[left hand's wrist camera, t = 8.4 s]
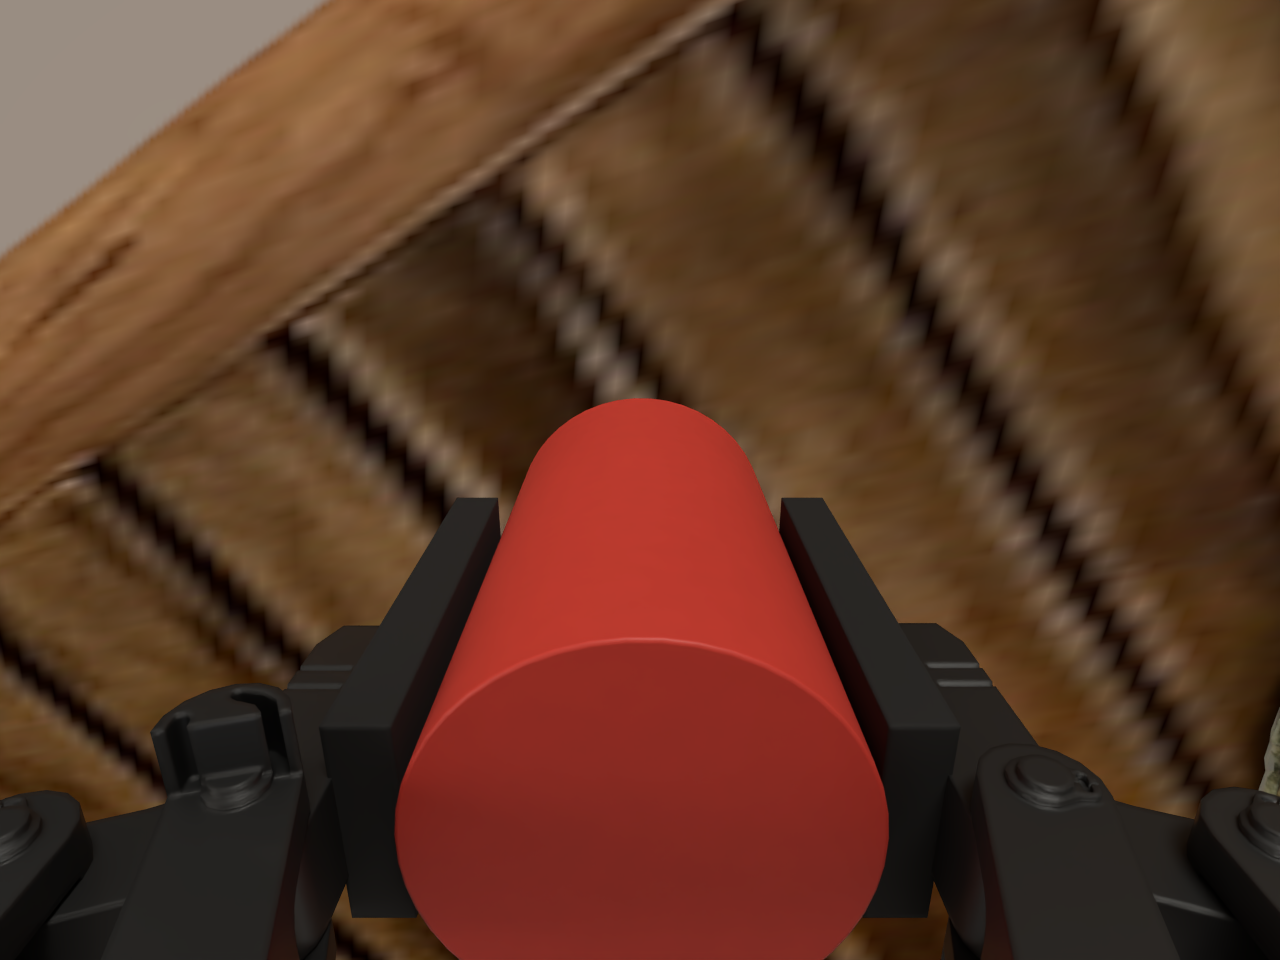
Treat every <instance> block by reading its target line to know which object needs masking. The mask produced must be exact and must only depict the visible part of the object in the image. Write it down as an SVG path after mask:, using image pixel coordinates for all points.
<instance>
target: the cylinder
mask: <svg viewBox="0 0 1280 960" xmlns="http://www.w3.org/2000/svg"><path fill="white" fill-rule="evenodd" d="M394 835H395V843H396V851H397V859H398V864H399V867H400V870H401V874H402V877H403V880H404V884H405V887H406V889H407V891H408V893H409V895H410V897H411V899H412V901H413V903H414V905H415V907H416V909H417V911H418V912H419V914H420V915H421V917H422V918H423V920H424V921H425V923H426V924H427V926H428V927H429V929H430V930H431V931H432V932H433V933H434V934H435V936H436V937H437V938H438V939H439V940H440V941H441V942H442V943H443V944H444V946H445V947H446V948H447V949H448V950H449V951H450V952H452V953H453V954H454V955H455V956H456V957H457V958H458V959H460V960H824V959H825V958H826V957H827V956H828V955H830V954H831V953H832V952H833V951H834V950H835V949H836V948H837V947H838V946H839V945H840V944H841V942H842V941H843V940H844V939H845V938H846V937H847V936H848V935H849V934H850V933H851V931H852V930H853V929H854V927H855V926H856V924H857V923H858V922H859V920H860V919H861V917H862V916H863V914H864V913H865V911H866V909H867V908H868V906H869V904H870V902H871V900H872V898H873V896H874V894H875V892H876V890H877V887H878V884H879V881H880V878H881V875H882V872H883V869H884V866H885V860H886V853H887V847H888V840H889V813H888V808H887V802H886V797H885V791H884V787H883V784H882V781H881V779H880V776H879V773H878V770H877V768H876V765H875V762H874V760H873V757H872V755H871V753H870V750H869V748H868V745H867V743H866V740H865V738H864V736H863V733H862V731H861V728H860V726H859V724H858V721H857V719H856V716H855V714H854V712H853V709H852V707H851V704H850V702H849V700H848V697H847V695H846V692H845V690H844V687H843V685H842V683H841V680H840V678H839V675H838V673H837V671H836V668H835V666H834V663H833V661H832V659H831V656H830V654H829V651H828V649H827V646H826V644H825V642H824V639H823V637H822V634H821V632H820V630H819V627H818V625H817V622H816V620H815V618H814V615H813V613H812V610H811V608H810V606H809V603H808V601H807V598H806V596H805V593H804V591H803V589H802V586H801V584H800V581H799V579H798V577H797V574H796V572H795V569H794V567H793V565H792V562H791V560H790V557H789V555H788V552H787V550H786V548H785V545H784V543H783V540H782V538H781V536H780V533H779V531H778V528H777V526H776V524H775V521H774V519H773V516H772V514H771V511H770V509H769V507H768V504H767V502H766V499H765V497H764V495H763V492H762V490H761V487H760V485H759V483H758V480H757V478H756V475H755V473H754V471H753V468H752V466H751V464H750V462H749V460H748V458H747V457H746V455H745V453H744V452H743V450H742V449H741V448H740V446H739V445H738V444H737V442H736V441H735V440H734V439H733V438H732V437H731V436H730V435H729V434H728V433H727V432H726V431H725V430H724V429H723V428H722V427H721V426H719V425H718V424H717V423H715V422H714V421H713V420H712V419H710V418H708V417H706V416H705V415H703V414H701V413H700V412H698V411H695V410H693V409H691V408H688V407H686V406H683V405H680V404H676V403H673V402H669V401H664V400H657V399H635V398H634V399H625V400H617V401H613V402H609V403H605V404H601V405H599V406H596V407H594V408H591V409H589V410H586V411H584V412H582V413H581V414H579V415H577V416H575V417H573V418H572V419H570V420H569V421H568V422H566V423H565V424H564V425H562V426H561V427H560V428H559V429H557V430H556V431H555V432H554V433H553V434H552V435H551V436H550V437H549V438H548V439H547V441H546V442H545V443H544V445H543V446H542V447H541V448H540V450H539V451H538V453H537V455H536V456H535V458H534V460H533V462H532V463H531V465H530V468H529V470H528V473H527V475H526V478H525V480H524V482H523V485H522V487H521V490H520V492H519V495H518V497H517V500H516V502H515V505H514V507H513V509H512V512H511V514H510V517H509V519H508V522H507V524H506V527H505V529H504V531H503V534H502V536H501V539H500V541H499V544H498V546H497V549H496V551H495V554H494V556H493V558H492V561H491V563H490V566H489V568H488V571H487V573H486V576H485V578H484V580H483V583H482V585H481V588H480V590H479V593H478V595H477V598H476V600H475V603H474V605H473V607H472V610H471V612H470V615H469V617H468V620H467V622H466V625H465V627H464V629H463V632H462V634H461V637H460V639H459V642H458V644H457V647H456V649H455V651H454V654H453V656H452V659H451V661H450V664H449V666H448V669H447V671H446V674H445V676H444V678H443V681H442V683H441V686H440V688H439V691H438V693H437V696H436V698H435V700H434V703H433V705H432V708H431V710H430V713H429V715H428V718H427V720H426V723H425V725H424V727H423V730H422V732H421V735H420V737H419V740H418V742H417V745H416V747H415V749H414V752H413V754H412V757H411V759H410V762H409V764H408V767H407V769H406V772H405V774H404V777H403V779H402V782H401V785H400V790H399V794H398V799H397V804H396V809H395V831H394Z"/></svg>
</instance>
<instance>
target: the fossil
mask: <svg viewBox="0 0 1280 960" xmlns="http://www.w3.org/2000/svg"><path fill="white" fill-rule="evenodd" d="M1264 761H1265V770H1266V771H1265V774H1264V776H1263V779H1262V782H1261V784H1260V787H1259V790H1260V791H1264V792H1267V793H1270V794H1274V795H1276V796H1279V797H1280V708H1279V710H1278V713H1277V716H1276V718H1275V721H1274V724H1273V726H1272V729H1271V734H1270V742H1269V745H1268V748H1267V751H1266V754H1265V757H1264Z"/></svg>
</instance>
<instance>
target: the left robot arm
mask: <svg viewBox="0 0 1280 960" xmlns="http://www.w3.org/2000/svg"><path fill="white" fill-rule="evenodd" d="M779 533H780V536H781V538H782V540H783V543H784V545H785V548H786V550H787V552H788V555H789V557H790V560H791V562H792V565H793V567H794V569H795V572H796V574H797V577H798V579H799V581H800V584H801V586H802V589H803V591H804V593H805V596H806V598H807V601H808V603H809V606H810V608H811V610H812V613H813V615H814V618H815V620H816V622H817V625H818V627H819V630H820V632H821V634H822V637H823V639H824V642H825V644H826V646H827V649H828V651H829V654H830V656H831V659H832V661H833V663H834V666H835V668H836V671H837V673H838V675H839V678H840V680H841V683H842V685H843V687H844V690H845V692H846V695H847V697H848V700H849V702H850V704H851V707H852V709H853V712H854V714H855V716H856V719H857V721H858V724H859V726H860V728H861V731H862V733H863V736H864V738H865V740H866V743H867V745H868V748H869V750H870V753H871V755H872V757H873V760H874V762H875V765H876V768H877V770H878V773H879V776H880V779H881V781H882V784H883V787H884V791H885V797H886V802H887V808H888V813H889V840H888V847H887V853H886V860H885V866H884V869H883V872H882V875H881V878H880V881H879V884H878V887H877V890H876V892H875V894H874V896H873V898H872V900H871V902H870V904H869V906H868V908H867V909H866V911H865V913H864V914H863V918H927V916H928V911H929V905H930V899H931V894H932V888H933V882H935V884H936V887H937V889H938V891H939V894H940V896H941V898H942V900H943V903H944V905H945V907H946V910H947V912H948V914H949V918H948V924H947V929H946V934H945V940H944V945H943V950H942V955H941V960H1280V797H1279V796H1276V795H1274V794H1270V793H1267V792H1264V791H1260V790H1253V789H1246V788H1239V787H1229V788H1222V789H1215V790H1212V791H1211V792H1209V793H1208V794H1207V795H1206V796H1204V797H1203V798H1202V799H1201V801H1200V804H1199V807H1198V810H1197V813H1196V817H1195V820H1194V819H1190V818H1185V817H1181V816H1176V815H1172V814H1167V813H1163V812H1158V811H1154V810H1149V809H1145V808H1140V807H1136V806H1132V805H1128V804H1125V803H1122V802H1118V801H1115V800H1114V799H1113V796H1112V795H1111V793H1110V792H1109V790H1108V789H1107V788H1106V786H1105V785H1104V783H1103V782H1102V780H1101V779H1100V778H1099V777H1098V776H1096V775H1095V774H1094V773H1093V772H1091V771H1090V770H1089V769H1088V768H1086V767H1085V766H1084V765H1082V764H1081V763H1080V762H1078V761H1076V760H1074V759H1071V758H1069V757H1067V756H1065V755H1063V754H1061V753H1059V752H1057V751H1054V750H1051V749H1047V748H1043V747H1040V746H1038V744H1037V743H1036V741H1035V740H1034V739H1033V737H1032V736H1031V735H1030V733H1029V732H1028V730H1027V729H1026V728H1025V726H1024V725H1023V724H1022V722H1021V721H1020V719H1019V718H1018V717H1017V715H1016V714H1015V713H1014V711H1013V710H1012V708H1011V707H1010V706H1009V704H1008V703H1007V702H1006V700H1005V699H1004V697H1003V696H1002V695H1001V693H1000V692H999V691H998V689H997V688H996V687H993V686H992V681H991V679H990V678H989V677H988V675H987V674H986V673H985V671H984V670H983V668H979V663H978V662H977V660H976V659H975V657H974V656H973V655H972V653H971V652H970V651H969V649H968V648H967V646H966V645H965V644H964V642H963V641H961V640H960V639H958V638H957V637H955V636H954V635H952V634H951V633H949V632H948V631H946V630H945V629H944V628H942V627H941V626H939V625H938V624H936V623H898V622H897V620H896V619H895V617H894V615H893V614H892V612H891V611H890V609H889V607H888V606H887V604H886V602H885V601H884V599H883V597H882V596H881V594H880V592H879V591H878V589H877V587H876V586H875V584H874V582H873V581H872V579H871V577H870V576H869V574H868V573H867V571H866V569H865V568H864V566H863V564H862V563H861V561H860V559H859V558H858V556H857V554H856V553H855V551H854V549H853V548H852V546H851V544H850V543H849V541H848V539H847V538H846V536H845V535H844V533H843V531H842V530H841V528H840V526H839V525H838V523H837V521H836V520H835V518H834V516H833V515H832V513H831V511H830V510H829V508H828V506H827V505H826V503H825V501H824V500H823V498H782V499H781V513H780V528H779ZM500 539H501V535H500V521H499V506H498V498H457V499H456V501H455V502H454V504H453V506H452V507H451V509H450V511H449V512H448V514H447V516H446V517H445V519H444V520H443V522H442V524H441V525H440V527H439V529H438V530H437V532H436V534H435V535H434V537H433V539H432V540H431V542H430V544H429V545H428V547H427V549H426V550H425V552H424V553H423V555H422V557H421V558H420V560H419V562H418V563H417V565H416V567H415V568H414V570H413V572H412V573H411V575H410V577H409V578H408V580H407V582H406V583H405V585H404V587H403V588H402V590H401V591H400V593H399V595H398V596H397V598H396V600H395V601H394V603H393V605H392V606H391V608H390V610H389V611H388V613H387V615H386V616H385V618H384V620H383V621H382V623H381V625H380V626H343V627H341V628H340V629H338V630H337V631H335V632H334V633H333V634H331V635H330V636H328V637H327V638H325V639H324V640H322V641H321V642H320V643H318V644H317V645H316V646H315V647H314V649H313V650H312V652H311V653H310V654H309V656H308V657H307V659H306V660H305V661H304V663H303V664H302V665H301V670H300V671H297V672H296V674H295V675H294V677H293V678H292V679H291V681H290V682H289V683H288V688H287V689H284V690H283V691H282V690H281V689H280V688H278V687H274V686H270V685H266V684H261V683H251V684H234V685H230V686H226V687H222V688H218V689H213V690H209V691H207V692H205V693H202V694H200V695H198V696H196V697H193V698H191V699H189V700H186V701H184V702H183V703H181V704H180V705H178V706H177V707H175V708H174V709H173V710H171V711H170V712H168V713H167V714H165V715H164V716H163V717H162V718H161V719H160V721H159V722H158V723H157V724H156V726H155V727H154V728H153V729H152V731H151V732H150V733H151V737H152V740H153V744H154V748H155V751H156V755H157V759H158V763H159V766H160V770H161V774H162V777H163V781H164V785H165V789H166V792H167V796H168V798H167V800H166V803H165V804H163V805H159V806H156V807H152V808H149V809H145V810H141V811H136V812H132V813H127V814H123V815H118V816H114V817H110V818H105V819H101V820H96V821H92V822H87V823H86V822H85V819H84V816H83V812H82V809H81V806H80V803H79V802H78V801H77V800H75V799H74V798H73V797H72V796H70V795H69V794H68V793H63V792H56V791H49V790H45V791H38V792H31V793H24V794H18V795H15V796H12V797H8V798H5V799H3V800H0V960H335V959H336V942H335V935H334V929H333V924H332V918H331V917H332V915H333V913H334V910H335V908H336V906H337V903H338V901H339V898H340V896H341V894H342V891H343V889H344V887H345V884H346V885H347V891H348V897H349V902H350V908H351V914H352V918H416V917H417V914H418V911H417V909H416V907H415V905H414V903H413V901H412V899H411V897H410V895H409V893H408V891H407V889H406V887H405V884H404V880H403V877H402V874H401V870H400V867H399V864H398V859H397V851H396V843H395V835H394V831H395V809H396V804H397V799H398V794H399V790H400V785H401V782H402V779H403V777H404V774H405V772H406V769H407V767H408V764H409V762H410V759H411V757H412V754H413V752H414V749H415V747H416V745H417V742H418V740H419V737H420V735H421V732H422V730H423V727H424V725H425V723H426V720H427V718H428V715H429V713H430V710H431V708H432V705H433V703H434V700H435V698H436V696H437V693H438V691H439V688H440V686H441V683H442V681H443V678H444V676H445V674H446V671H447V669H448V666H449V664H450V661H451V659H452V656H453V654H454V651H455V649H456V647H457V644H458V642H459V639H460V637H461V634H462V632H463V629H464V627H465V625H466V622H467V620H468V617H469V615H470V612H471V610H472V607H473V605H474V603H475V600H476V598H477V595H478V593H479V590H480V588H481V585H482V583H483V580H484V578H485V576H486V573H487V571H488V568H489V566H490V563H491V561H492V558H493V556H494V554H495V551H496V549H497V546H498V544H499V541H500Z"/></svg>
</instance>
